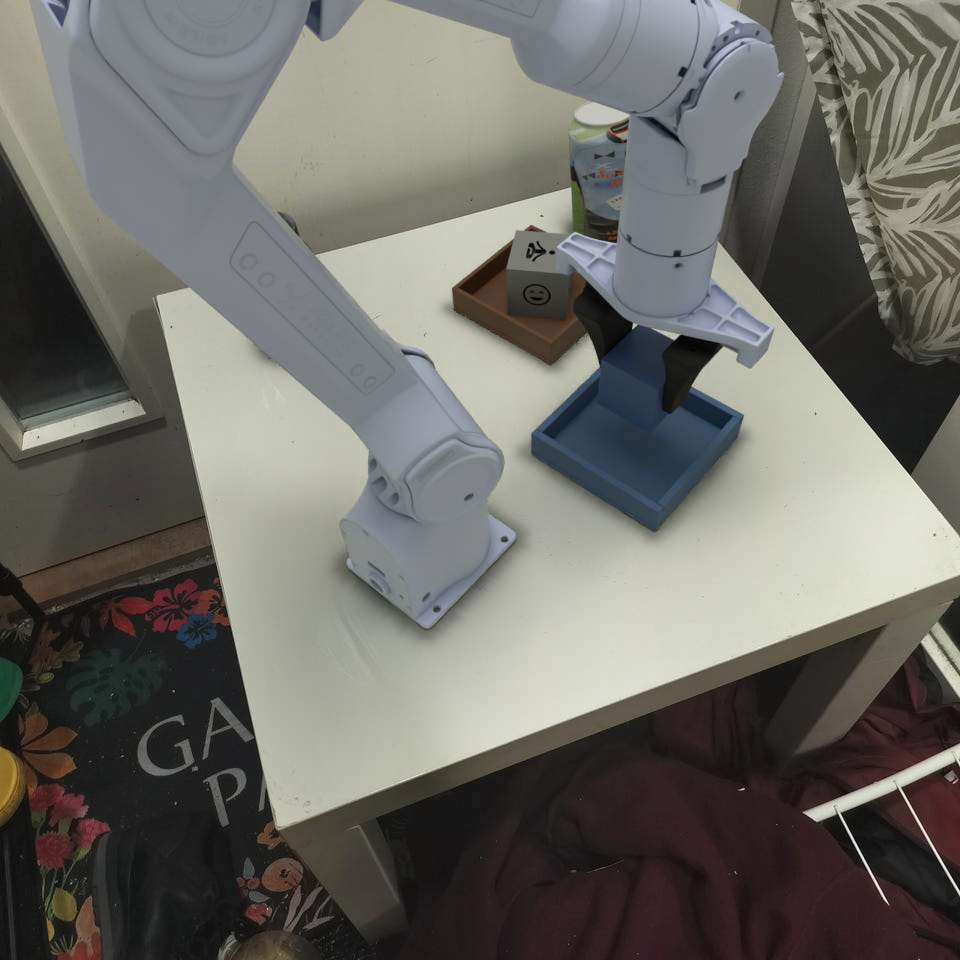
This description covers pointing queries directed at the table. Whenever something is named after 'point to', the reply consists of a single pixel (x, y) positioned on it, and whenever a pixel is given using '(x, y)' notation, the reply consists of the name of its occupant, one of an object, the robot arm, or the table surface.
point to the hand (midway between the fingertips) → (643, 386)
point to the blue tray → (635, 450)
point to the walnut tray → (487, 306)
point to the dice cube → (537, 277)
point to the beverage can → (597, 169)
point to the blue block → (635, 378)
